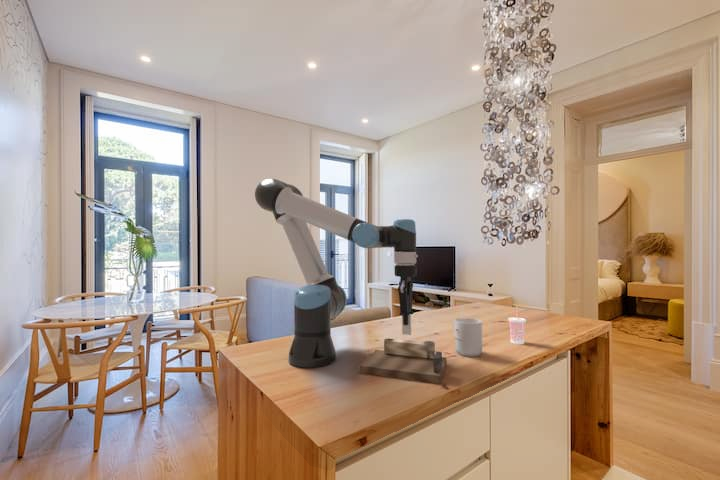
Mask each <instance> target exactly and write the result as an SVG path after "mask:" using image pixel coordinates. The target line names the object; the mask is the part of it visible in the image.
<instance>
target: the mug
mask: <svg viewBox="0 0 720 480" xmlns="http://www.w3.org/2000/svg"><path fill="white" fill-rule="evenodd" d="M453 336H454V350H455V351H456V352H457V354H459V355H461V356H463V357H470V358H471V357H475V358H476V357H478V356H480V355H481V354H482V353H483V321H482V320H480V319H477V318H471V317H470V318H468V317H460V318H455V320H454V321H453Z"/></svg>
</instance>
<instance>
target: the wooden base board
mask: <svg viewBox="0 0 720 480" xmlns="http://www.w3.org/2000/svg"><path fill="white" fill-rule="evenodd" d="M447 365H448V364H447V357H444V356H443V353H442V351H436V350H435V356H434V359H431V358H422V357H413V356H404V355H395V354H387V353H384V349H383V350H381V349H375V350H374V351H373V352H372V353H370V354H369V356H368V357H367V358H365V359H364V361H362V362H360V364H359V366H358V369H359V371H358V372H359V373H360V374H361V373H362V374H367V375H373V376H375V375H376V376H383V377H387V378H388V377H389V378H390V377H391V378H394V379H395V378H398V379H404V380H410V381H418V382H425V383H430V384H431V383H432V384H433V383H434V384H441V383H442V380H443V376H444V374H445V371H446V367H447Z"/></svg>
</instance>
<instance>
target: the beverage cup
mask: <svg viewBox="0 0 720 480" xmlns="http://www.w3.org/2000/svg"><path fill="white" fill-rule="evenodd" d="M518 307H519V306H518V305H516V306H515V308H516V310H515V313H516V316H515V317H508V318H507V319H508V324H509V335H510V337H509V338H510V343H511V344H515V345H524V344H525V332H526V331H525V329H526V322H527V320H526V319H525V318H523V317H519V316H518V312H519V311H518V309H519V308H518Z"/></svg>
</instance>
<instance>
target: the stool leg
mask: <svg viewBox="0 0 720 480" xmlns="http://www.w3.org/2000/svg"><path fill="white" fill-rule="evenodd" d="M435 347H436V343H435V342H434V341H431V340H426V341H425V340H424V341H419V340H417V341H416V340H407V339H398V338H397V339H396V338H389V337H388V338H384V339H383V351H384V353H387V354H395V355H404V356H413V357H422V358H431V359H434V356H435V354H436V348H435Z"/></svg>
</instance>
